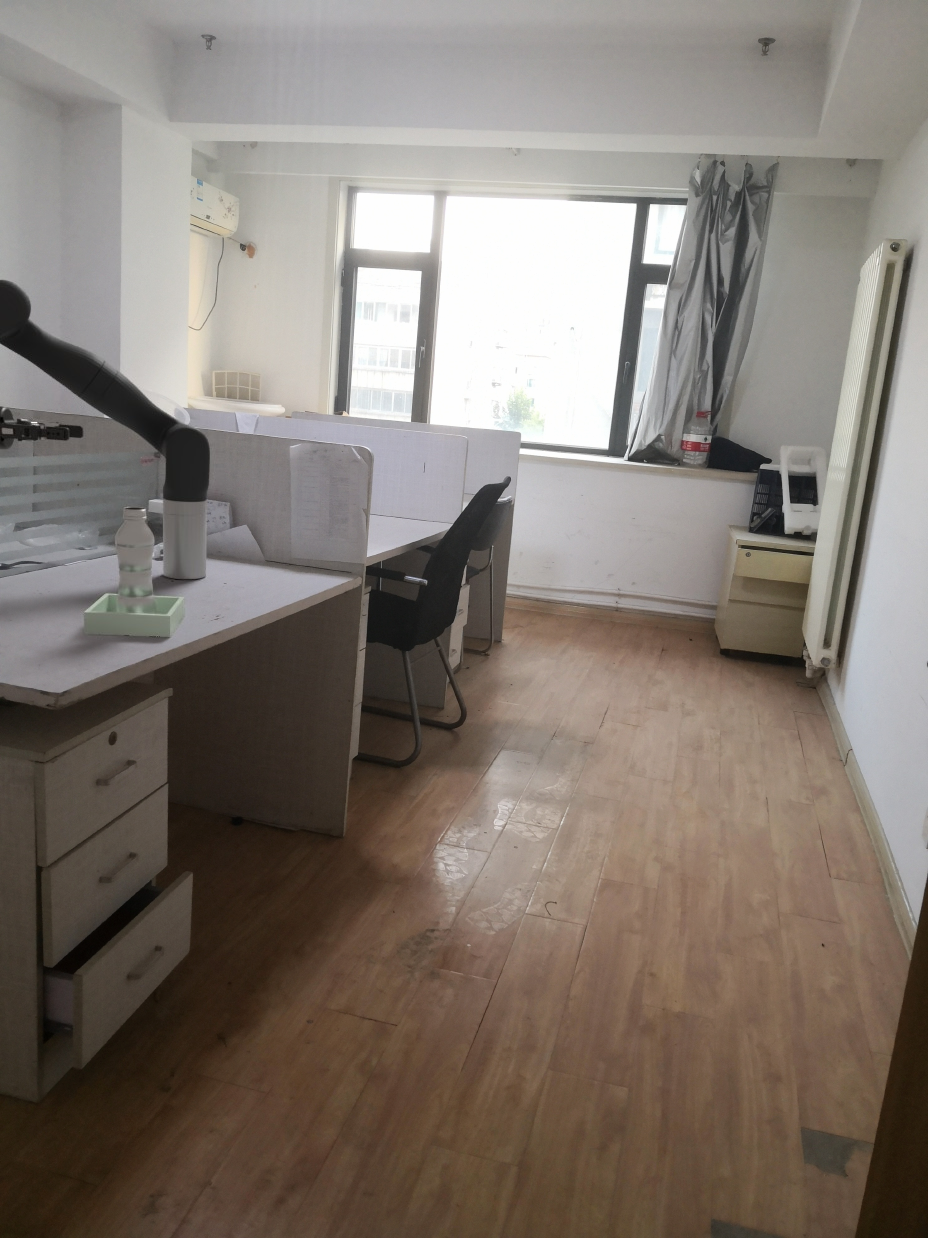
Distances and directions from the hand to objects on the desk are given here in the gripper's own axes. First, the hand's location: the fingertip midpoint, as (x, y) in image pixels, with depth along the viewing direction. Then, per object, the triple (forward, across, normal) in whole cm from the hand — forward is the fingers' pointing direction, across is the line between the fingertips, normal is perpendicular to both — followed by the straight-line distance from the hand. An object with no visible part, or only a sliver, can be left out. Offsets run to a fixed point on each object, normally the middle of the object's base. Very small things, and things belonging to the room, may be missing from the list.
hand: (76, 433), depth 158 cm
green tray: (+13, -13, +32) cm, 37 cm away
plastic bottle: (+13, -13, +31) cm, 36 cm away
